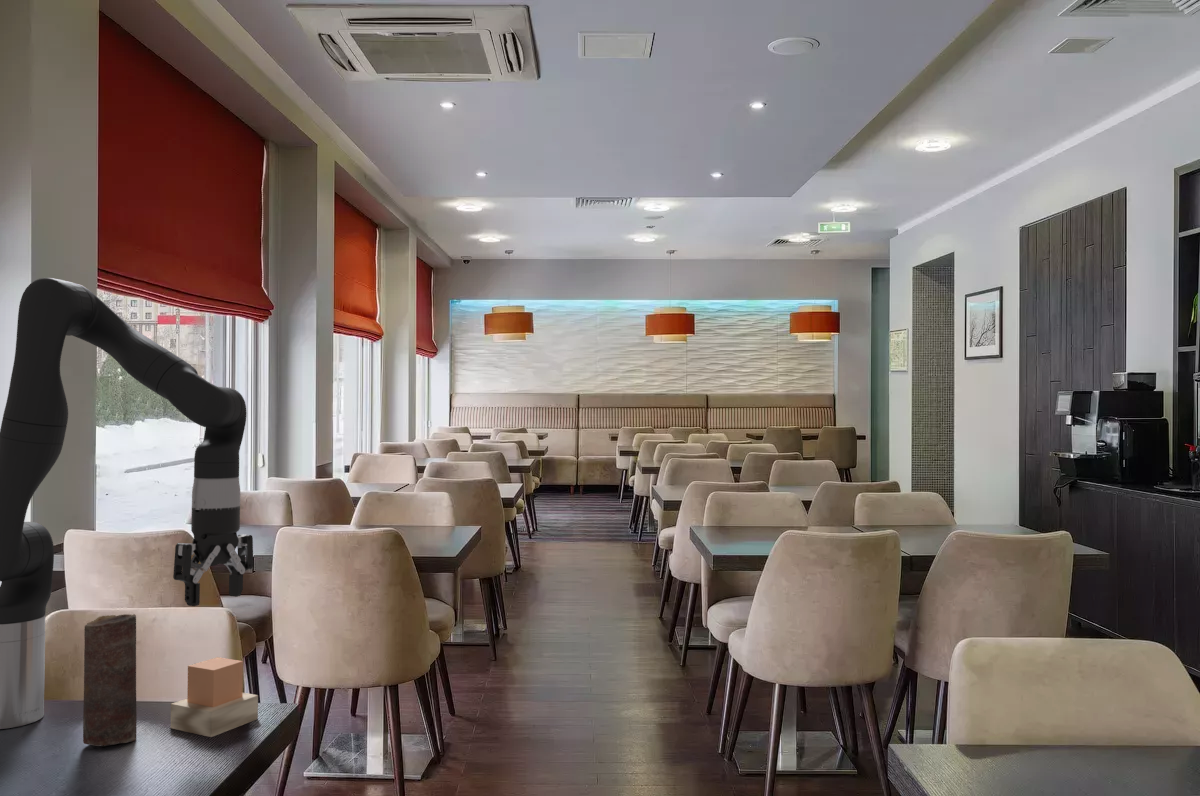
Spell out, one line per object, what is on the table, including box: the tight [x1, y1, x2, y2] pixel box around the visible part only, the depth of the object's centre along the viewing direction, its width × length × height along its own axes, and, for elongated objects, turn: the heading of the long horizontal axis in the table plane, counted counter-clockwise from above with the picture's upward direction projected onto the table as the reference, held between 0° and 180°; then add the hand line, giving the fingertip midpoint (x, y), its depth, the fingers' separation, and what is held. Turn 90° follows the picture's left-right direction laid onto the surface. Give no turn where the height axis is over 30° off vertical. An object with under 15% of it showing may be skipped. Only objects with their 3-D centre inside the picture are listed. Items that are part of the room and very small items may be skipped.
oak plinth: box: [170, 692, 259, 738], centre depth 147 cm, size 10×10×4 cm
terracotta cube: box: [186, 656, 244, 707], centre depth 147 cm, size 6×6×6 cm
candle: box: [82, 613, 138, 747], centre depth 138 cm, size 8×7×20 cm
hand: (214, 600), depth 148 cm, fingers open, 8 cm apart
